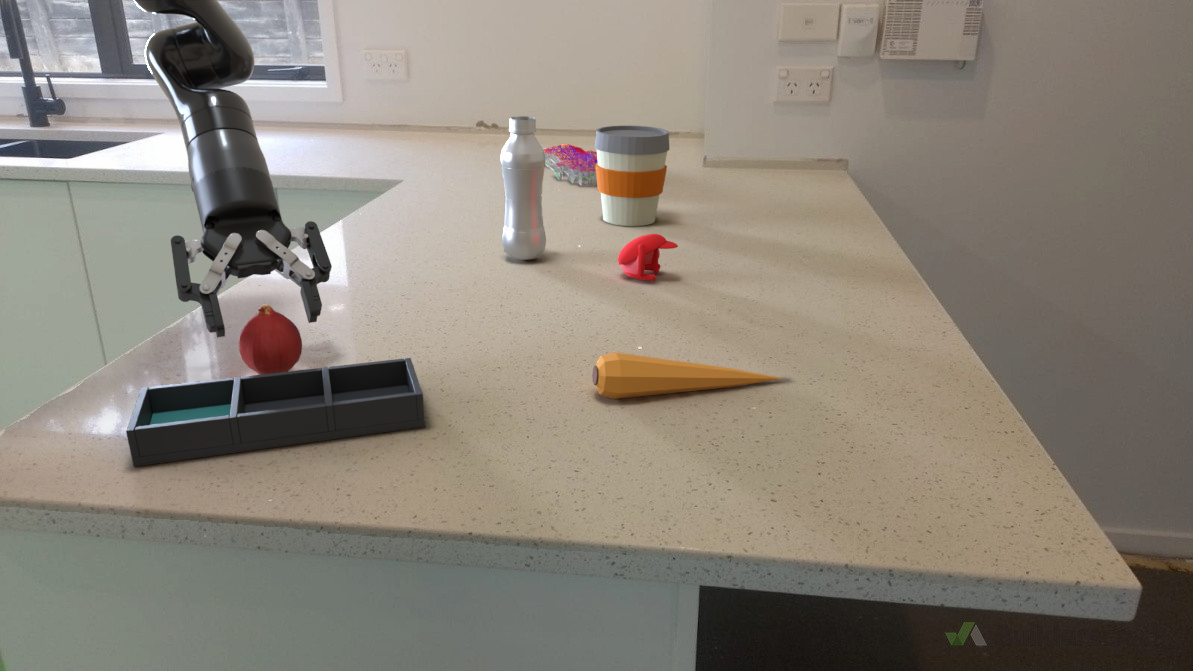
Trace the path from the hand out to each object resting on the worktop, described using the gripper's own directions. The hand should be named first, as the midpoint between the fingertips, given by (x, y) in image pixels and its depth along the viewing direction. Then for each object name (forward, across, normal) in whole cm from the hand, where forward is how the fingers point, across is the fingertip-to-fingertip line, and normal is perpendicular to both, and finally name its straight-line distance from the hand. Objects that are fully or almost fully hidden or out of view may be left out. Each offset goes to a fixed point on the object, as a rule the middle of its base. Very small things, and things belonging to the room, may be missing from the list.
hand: (268, 326), depth 81 cm
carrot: (+19, +36, -11) cm, 42 cm away
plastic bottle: (-14, +40, +22) cm, 48 cm away
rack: (+11, -1, -3) cm, 11 cm away
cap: (-3, +51, +12) cm, 52 cm away
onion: (+4, 0, +4) cm, 6 cm away
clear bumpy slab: (-50, +77, +58) cm, 109 cm away
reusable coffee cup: (-23, +66, +31) cm, 76 cm away
